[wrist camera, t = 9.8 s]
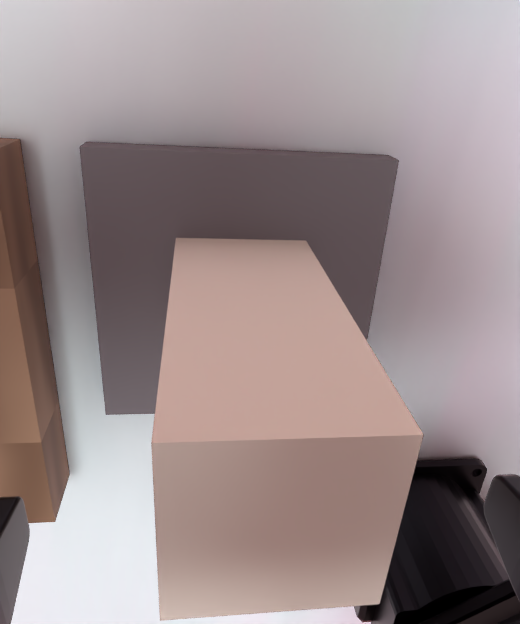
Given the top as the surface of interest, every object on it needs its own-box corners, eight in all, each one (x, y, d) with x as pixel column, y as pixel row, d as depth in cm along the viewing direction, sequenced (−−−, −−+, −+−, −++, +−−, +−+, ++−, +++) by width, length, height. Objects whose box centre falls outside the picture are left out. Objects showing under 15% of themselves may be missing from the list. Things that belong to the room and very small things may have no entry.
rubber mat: (388, 155, 17) (398, 160, 16) (348, 394, 22) (354, 409, 21) (86, 142, 16) (79, 146, 15) (109, 399, 20) (105, 414, 19)
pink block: (306, 240, 17) (423, 434, 8) (294, 350, 19) (379, 604, 10) (175, 237, 17) (151, 443, 8) (177, 351, 18) (159, 620, 10)
